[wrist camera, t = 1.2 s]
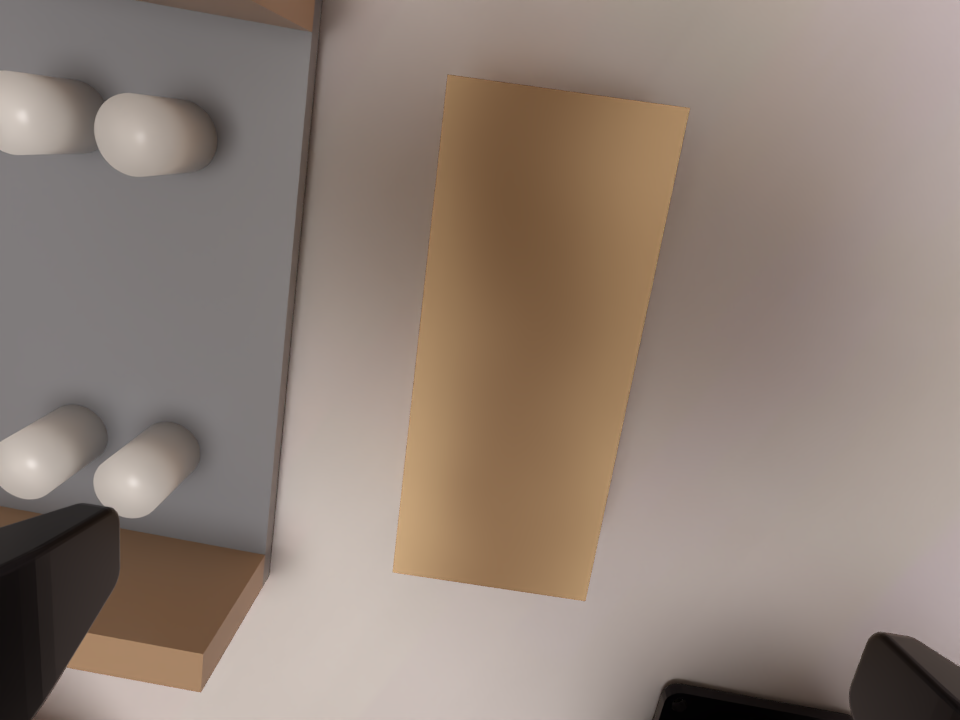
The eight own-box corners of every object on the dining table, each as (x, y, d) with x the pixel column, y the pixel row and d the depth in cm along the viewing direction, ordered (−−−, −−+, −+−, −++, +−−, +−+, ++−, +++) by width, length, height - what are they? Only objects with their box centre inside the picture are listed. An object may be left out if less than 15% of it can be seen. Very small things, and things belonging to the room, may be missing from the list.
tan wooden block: (654, 114, 18) (689, 108, 14) (574, 520, 22) (585, 600, 18) (463, 88, 18) (447, 74, 14) (415, 496, 22) (392, 572, 18)
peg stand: (323, -17, 17) (248, -77, 13) (269, 576, 23) (200, 692, 18) (-33, -81, 17) (-244, -166, 13) (-5, 525, 23) (-146, 628, 18)
